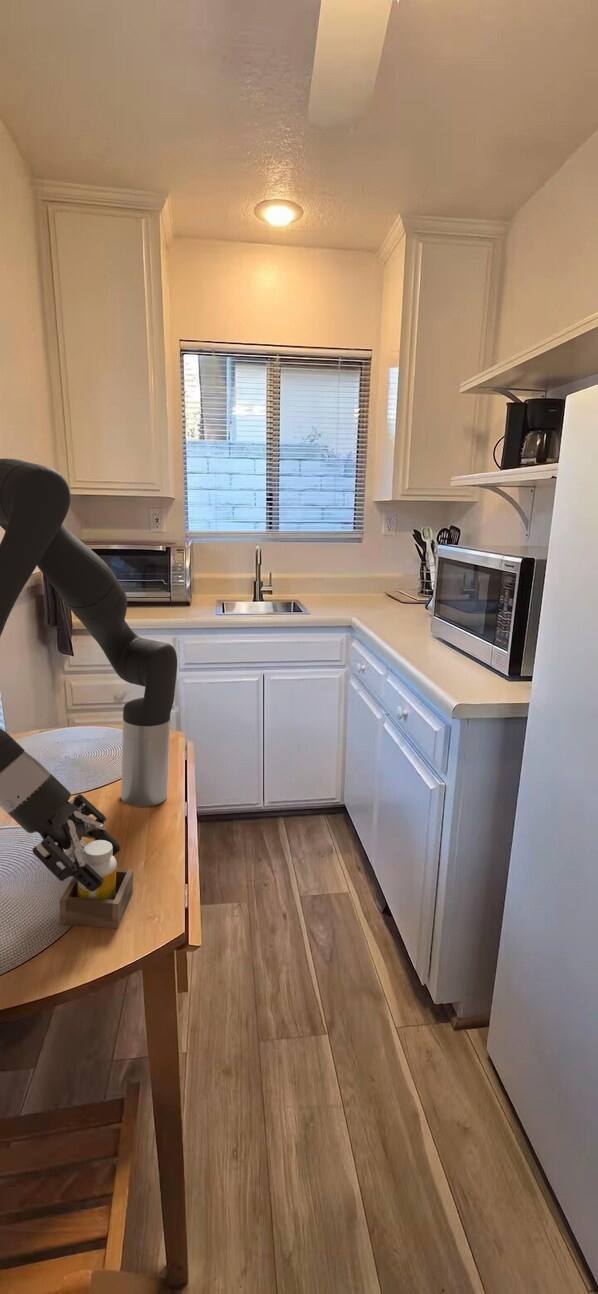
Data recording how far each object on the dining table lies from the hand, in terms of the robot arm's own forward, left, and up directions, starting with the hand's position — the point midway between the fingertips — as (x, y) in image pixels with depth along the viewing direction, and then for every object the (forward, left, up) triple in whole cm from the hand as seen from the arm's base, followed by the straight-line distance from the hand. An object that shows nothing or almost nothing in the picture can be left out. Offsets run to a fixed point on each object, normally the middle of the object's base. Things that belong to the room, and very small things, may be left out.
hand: (107, 868), depth 87 cm
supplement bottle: (0, -2, -6) cm, 7 cm away
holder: (0, -1, -7) cm, 7 cm away
